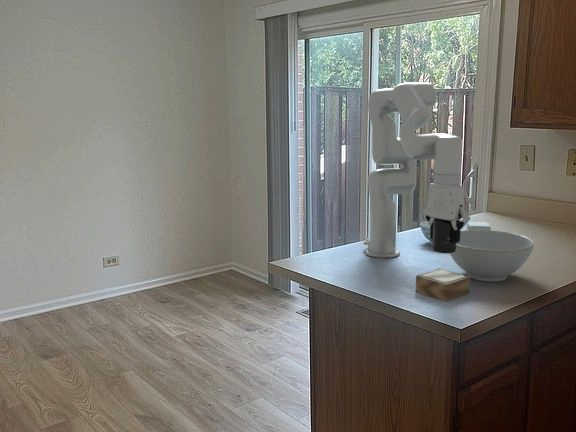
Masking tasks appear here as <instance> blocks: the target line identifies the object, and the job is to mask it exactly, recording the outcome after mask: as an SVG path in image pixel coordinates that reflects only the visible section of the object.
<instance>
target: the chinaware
mask: <svg viewBox="0 0 576 432" xmlns="http://www.w3.org/2000/svg"><path fill="white" fill-rule="evenodd" d="M420 230H421V233H422V234H423V236H424V237H425V238H426V240H428V241H429V242H430V245H432V239H430V225H429V222H428V220H425V221H422V222H420Z"/></svg>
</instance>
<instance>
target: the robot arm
mask: <svg viewBox="0 0 576 432" xmlns="http://www.w3.org/2000/svg"><path fill="white" fill-rule="evenodd" d="M437 95H438V94H437V90H436V88H435V87H434V85H432V84H431V83H429V82H403V83H398V84H397V85H396V86H395V87H394V88H381V89H376V90H374V91H372V92H371V94H370V95H369V97H368V101H367V109H368V111H367V112H368V115H369V119H370V122H371V156H372V160H373V163H375V164H376V165H381V166H388V165H389V166H390V165H392V166H393V165H400V167H394V168H393V167H390V168H378V169H373V170H372V171H371V172H370V173H369V174H368V176H367V187H368V193H369V238H366V239H365V240H364V241H363V245H365V246H367V248H366V249H365V250H364V253H365V254H366V255H367V256H370V257H373V258H382V259H385V258H386V259H388V258H395V257H398V256H399V255H401V251H400V250H399V249H398V248H397V246H396V245H397V244H396V243H397V205H396V203H395V201H394V200H393V199H392V197H391V196H393V195H394V196H395V195H408V194H411V193H413V192H414V191H415V189H416V187H417V178H418V177H417V173H418V172H417V171H418V170H417V169H418V168H417V166H418V161H425V160H426V161H427V160H428V161H429V160H433V173H431V175H430V178H431V179H432V181H433V182H432V183H430V187H429V189H428V194H427V202H426V206H425V208H423V209H422V213H423V215H424V216H425V218H426V221H428V222H429V225H430V239H432V238H433V222H434V220H435V219H441V220H447V221H451V223H452V226H453V229H454V230H452V231H451V243H452V244H454V243H458V242H460V231H462V230H463V228H464V227H465V226H467V222H470V220H471V217H470V215H469V213H468V212H467V211H466V210H465V198H464V197H465V195H464V188H463V185H462V184H461V182H462V178H461V177H462V161H463V160H462V158H463V140H462V137H460V136H457V135H450V134H448V133H420V134H419V133H418V134H417V133H415V132H416V131H418V130H420V129H421V128H423V127H424V126H425V125H427V123H428V122H429V121H430V120H431V116H432V114H431V110H430V109H432V108H434V106H435V104H436V103H437V99H438V98H437V97H438V96H437ZM392 114H393V115H396V114H397V115H398V114H399V115H400V118H401V119H402V122H401V124H400V126H399V127H400V128H399V137H397V123H396V121H395V120H394V118H393V117H392V116H391V115H392ZM456 223H457V224H456Z"/></svg>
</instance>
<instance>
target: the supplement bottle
mask: <svg viewBox="0 0 576 432" xmlns="http://www.w3.org/2000/svg"><path fill="white" fill-rule="evenodd" d="M456 224H457V223H456ZM452 230H454V229H453V226H452V223H451V221H447V220H441V219H435V220H434V222H433V238H432V244H431V248H432V249H431V250H432V252H435V253H438V254H439V253H440V254H450V253H453V252H455V251H456V243H454V244H452V243H451V231H452Z"/></svg>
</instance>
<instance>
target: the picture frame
mask: <svg viewBox="0 0 576 432" xmlns="http://www.w3.org/2000/svg"><path fill="white" fill-rule="evenodd" d="M470 285H471V278H470V277H469V276H468V275H464V274H460V273H457V272H453V271H450V270H449V271H448V270H446V269H442V268H438V269H434V270H431V271H427V272H424V273H421V274H417V275H416V276H415V292H416V293H418V294H422V295H424V296H428V297H430V298H434V299H437V300H440V301H443V302H449V301H452V300H454V299H457V298H460V297H464V296H465V295H466V296H467V295H468V294H470V289H471V287H470Z"/></svg>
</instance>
